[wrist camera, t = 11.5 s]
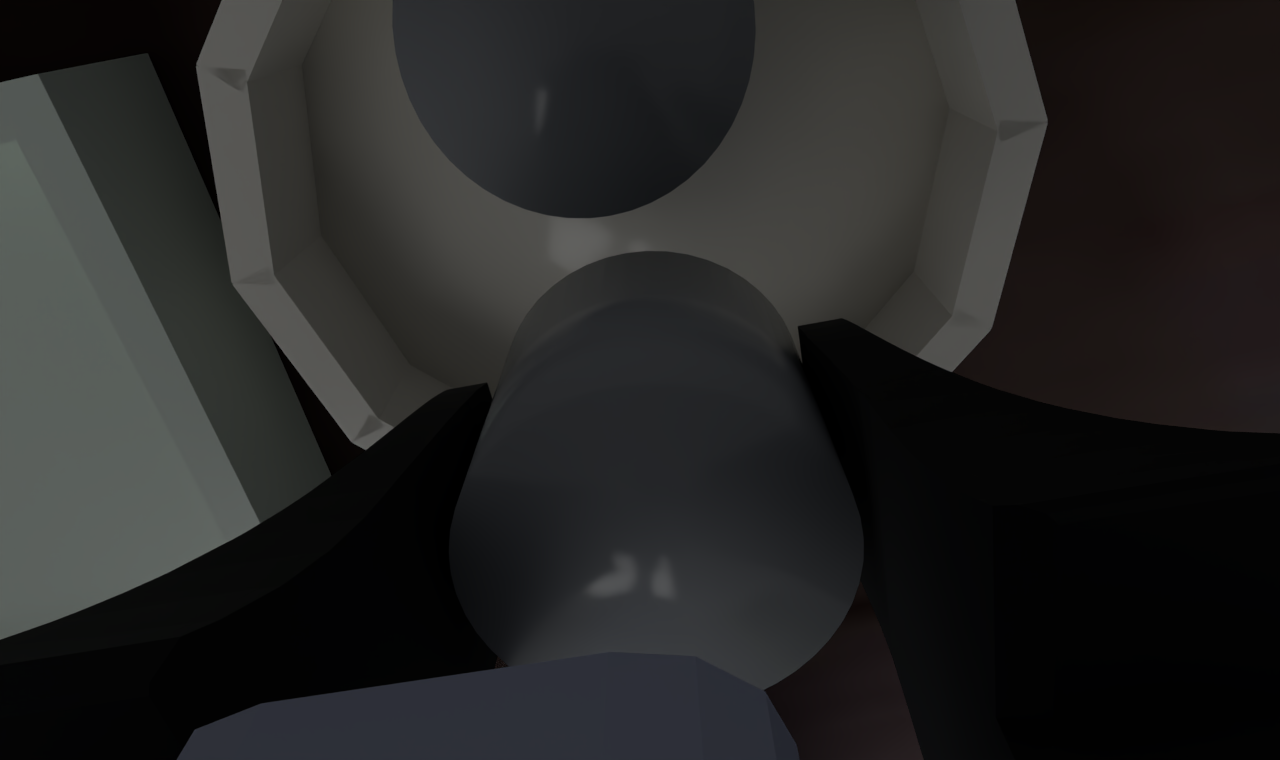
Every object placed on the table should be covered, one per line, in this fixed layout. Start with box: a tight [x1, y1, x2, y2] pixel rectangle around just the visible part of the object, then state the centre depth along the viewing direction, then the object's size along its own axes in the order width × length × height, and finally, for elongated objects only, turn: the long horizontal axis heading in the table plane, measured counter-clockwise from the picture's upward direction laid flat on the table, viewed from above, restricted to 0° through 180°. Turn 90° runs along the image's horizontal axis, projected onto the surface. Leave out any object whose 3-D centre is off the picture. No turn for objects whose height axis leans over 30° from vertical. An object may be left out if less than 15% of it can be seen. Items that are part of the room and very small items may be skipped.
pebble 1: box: [392, 0, 756, 218], centre depth 12 cm, size 4×4×4 cm
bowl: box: [196, 0, 1048, 450], centre depth 14 cm, size 12×12×3 cm
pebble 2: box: [449, 251, 864, 690], centre depth 11 cm, size 4×4×4 cm
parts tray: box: [0, 53, 331, 640], centre depth 17 cm, size 15×12×3 cm
